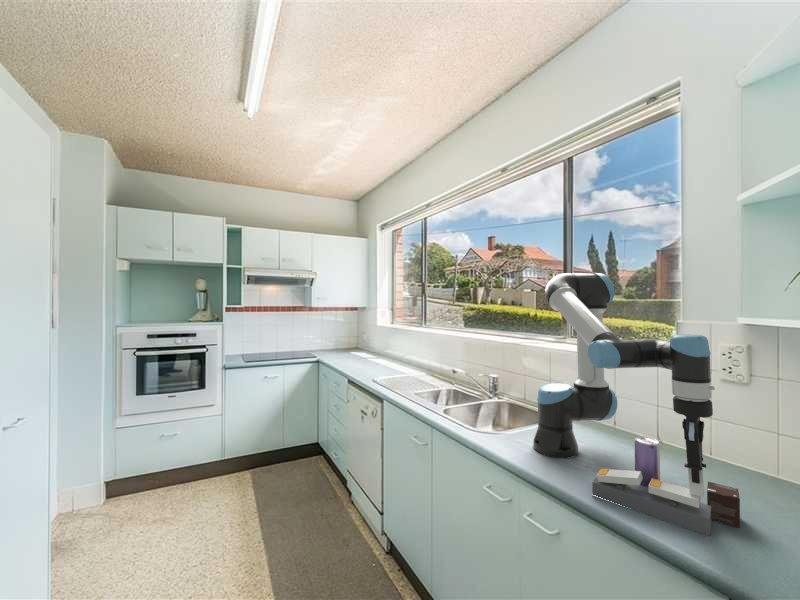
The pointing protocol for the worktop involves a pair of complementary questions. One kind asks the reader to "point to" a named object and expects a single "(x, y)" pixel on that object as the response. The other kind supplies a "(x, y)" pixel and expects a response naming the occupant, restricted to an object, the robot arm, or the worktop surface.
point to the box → (724, 504)
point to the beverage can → (647, 459)
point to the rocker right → (673, 492)
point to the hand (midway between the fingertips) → (696, 494)
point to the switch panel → (655, 505)
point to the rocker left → (620, 476)
